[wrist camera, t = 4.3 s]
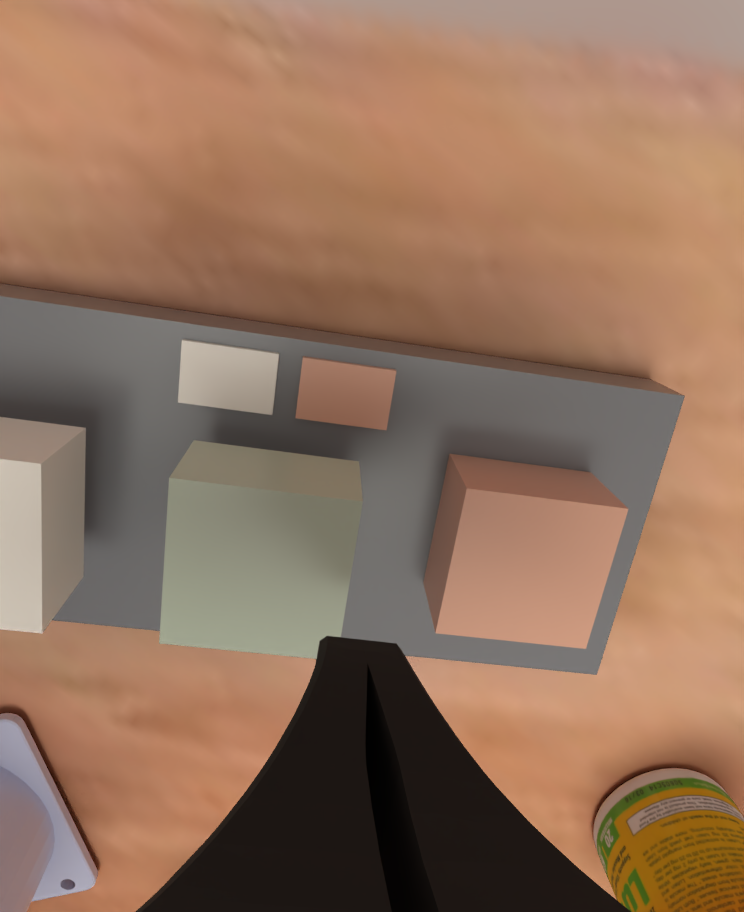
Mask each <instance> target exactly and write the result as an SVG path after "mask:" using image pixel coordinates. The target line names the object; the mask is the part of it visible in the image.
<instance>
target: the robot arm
mask: <svg viewBox="0 0 744 912" xmlns="http://www.w3.org/2000/svg"><path fill="white" fill-rule="evenodd" d="M97 876H98V870H97V868H96V866H95V864H94V862H93V860H92V858H91V856H90V854H89V852H88V850H87V848H86V846H85V844H84V842H83V840H82V838H81V836H80V834H79V831H78V829H77V827H76V825H75V823H74V821H73V819H72V817H71V815H70V813H69V811H68V809H67V807H66V805H65V803H64V801H63V799H62V797H61V795H60V793H59V791H58V789H57V787H56V785H55V783H54V781H53V779H52V777H51V775H50V773H49V770H48V768H47V766H46V764H45V762H44V760H43V758H42V756H41V754H40V752H39V750H38V748H37V746H36V744H35V742H34V740H33V738H32V736H31V734H30V732H29V730H28V728H27V726H26V724H25V722H24V720H23V719H22V718H21V717H20V716H18V715H16V714H13V713H3V714H0V912H27V910H28V908H29V906H30V903H31V902H32V901H36V900H41V899H46V898H51V897H56V896H61V895H65V894H70V893H75V892H80V891H85V890H88V889H90V888H92V887H93V886H94V885H95V882H96V879H97ZM136 912H631V911H630V910H628V909H627V908H626V907H625V906H623V905H622V904H621V903H620V902H618V901H617V900H616V899H615V898H613V897H612V896H611V895H610V894H608V893H607V892H606V891H605V890H603V889H602V888H601V887H600V886H599V885H597V884H596V883H595V882H594V881H593V880H592V879H590V878H589V877H588V876H587V875H586V874H584V873H583V872H582V871H581V870H580V869H579V868H578V867H576V866H575V865H574V864H573V863H572V862H571V861H570V860H569V859H568V858H567V857H566V856H565V855H563V854H562V853H561V852H560V851H559V850H558V849H557V848H556V847H555V846H554V845H553V844H552V843H550V842H549V841H548V840H547V839H546V838H545V837H544V836H543V835H542V834H541V833H540V832H539V831H538V830H537V829H536V828H535V827H534V826H533V825H532V824H531V823H530V822H529V821H528V820H527V819H526V818H525V817H524V816H523V815H522V814H521V813H520V812H519V811H518V810H517V809H516V807H515V806H514V805H513V804H512V803H511V802H510V801H509V800H508V799H507V798H506V797H505V796H504V794H503V793H502V792H501V791H500V790H499V789H498V788H497V787H496V786H495V785H494V783H493V782H492V781H491V780H490V779H489V778H488V776H487V775H486V774H485V773H484V772H483V770H482V769H481V768H480V766H479V765H478V764H477V763H476V761H475V760H474V759H473V757H472V756H471V755H470V754H469V752H468V751H467V750H466V748H465V747H464V746H463V744H462V743H461V742H460V740H459V739H458V738H457V736H456V735H455V733H454V732H453V731H452V729H451V728H450V726H449V725H448V723H447V722H446V720H445V719H444V717H443V716H442V715H441V713H440V712H439V710H438V709H437V707H436V706H435V704H434V703H433V701H432V700H431V698H430V696H429V695H428V693H427V692H426V690H425V688H424V687H423V685H422V684H421V682H420V680H419V679H418V677H417V675H416V674H415V672H414V671H413V669H412V667H411V665H410V664H409V662H408V660H407V659H406V657H405V655H404V653H403V652H402V650H401V649H400V647H399V646H398V645H397V643H388V642H379V641H370V640H361V639H352V638H343V637H334V636H326V637H325V638H323V639H321V640H320V641H319V647H318V653H317V659H316V665H315V669H314V671H313V674H312V677H311V679H310V682H309V685H308V687H307V689H306V691H305V693H304V695H303V697H302V700H301V702H300V704H299V706H298V708H297V710H296V712H295V714H294V716H293V718H292V720H291V722H290V723H289V725H288V727H287V729H286V730H285V732H284V734H283V736H282V737H281V739H280V741H279V743H278V744H277V746H276V748H275V749H274V751H273V753H272V754H271V756H270V757H269V759H268V760H267V762H266V763H265V765H264V766H263V768H262V769H261V771H260V772H259V774H258V775H257V777H256V778H255V779H254V781H253V782H252V784H251V785H250V786H249V788H248V789H247V791H246V792H245V793H244V795H243V796H242V797H241V798H240V800H239V801H238V802H237V804H236V805H235V806H234V807H233V809H232V810H231V811H230V812H229V814H228V815H227V816H226V817H225V819H224V820H223V821H222V823H221V824H220V825H219V826H218V827H217V828H216V830H215V831H214V832H213V833H212V834H211V836H210V837H209V838H208V839H207V840H206V841H205V842H204V843H203V845H202V846H201V847H200V848H199V849H198V850H197V851H196V852H195V853H194V854H193V855H192V856H191V857H190V858H189V859H188V860H187V861H186V863H185V864H184V865H183V866H182V867H181V868H180V869H179V870H178V871H177V872H176V873H175V874H174V875H173V876H172V877H171V878H170V879H169V881H168V882H167V883H166V884H165V885H164V886H163V887H162V888H161V889H160V890H159V891H158V892H157V893H156V894H155V895H153V896H152V897H151V898H150V899H149V900H148V901H147V902H146V903H145V904H144V905H143V906H142V907H140V908H139V909H138V910H137V911H136Z"/></svg>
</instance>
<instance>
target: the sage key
mask: <svg viewBox="0 0 744 912" xmlns="http://www.w3.org/2000/svg"><path fill="white" fill-rule="evenodd" d="M362 504H363V498H362V488H361V477H360V467H359V461H352V460H344V459H336V458H328V457H321V456H313V455H305V454H297V453H290V452H282V451H274V450H266V449H258V448H251V447H243V446H235V445H227V444H220V443H212V442H204V441H196V440H194V441H193V442H192V444H191V445H190V447H189V449H188V450H187V452H186V453H185V455H184V456H183V458H182V459H181V461H180V462H179V464H178V465H177V467H176V468H175V470H174V471H173V473H172V474H171V476H170V477H169V487H168V504H167V521H166V537H165V554H164V571H163V588H162V605H161V621H160V638H159V644H170V645H180V646H190V647H200V648H210V649H220V650H231V651H241V652H251V653H261V654H271V655H282V656H292V657H302V658H312V659H317V653H318V647H319V641H320V640H321V639H323V638H325V637H326V636H334V637H341V633H342V627H343V620H344V614H345V608H346V602H347V596H348V590H349V584H350V577H351V571H352V565H353V559H354V553H355V547H356V541H357V534H358V528H359V522H360V516H361V510H362Z"/></svg>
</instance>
